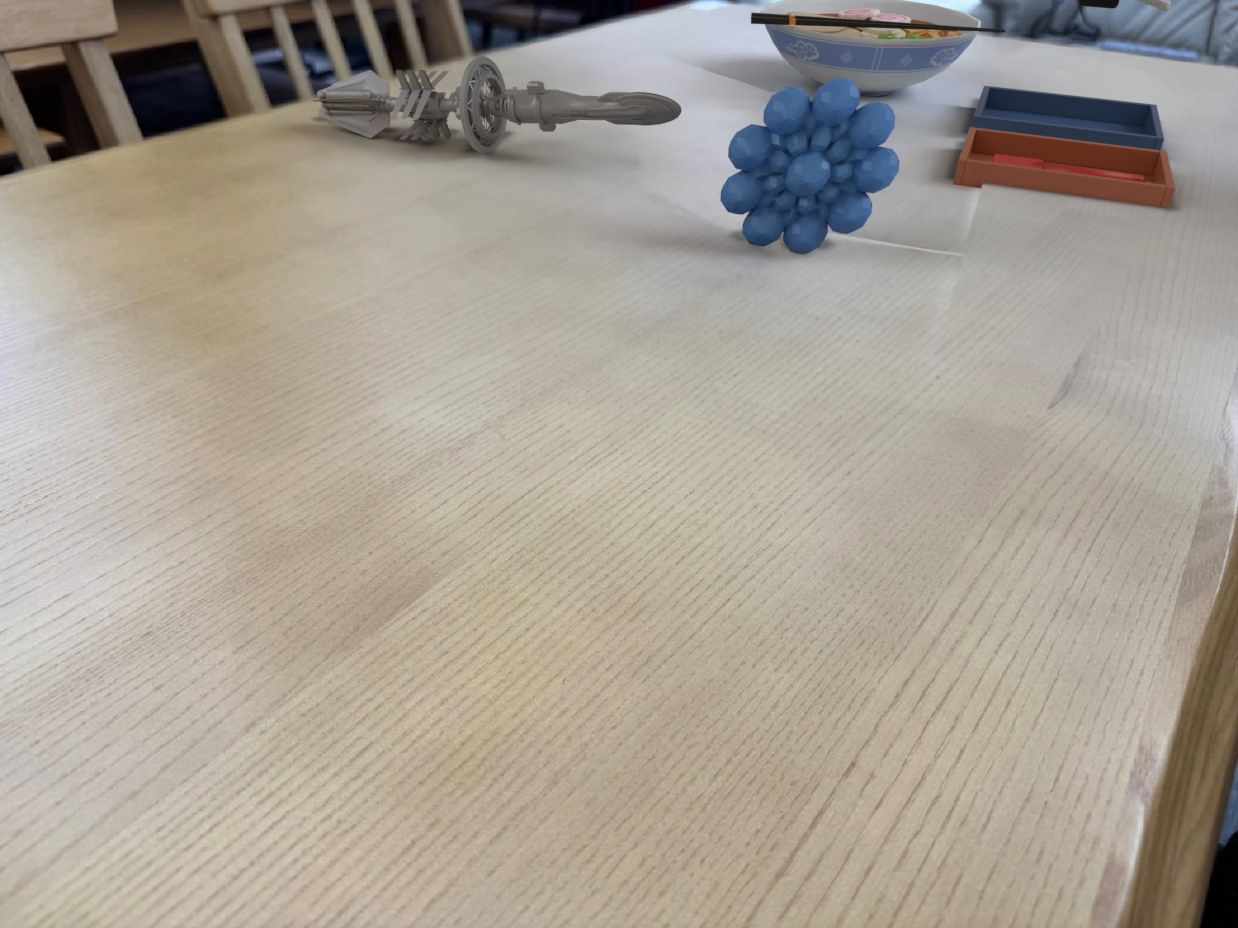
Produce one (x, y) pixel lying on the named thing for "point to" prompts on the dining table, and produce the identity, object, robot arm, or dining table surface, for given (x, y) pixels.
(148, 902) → the dining table surface
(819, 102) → the blue beaded flower
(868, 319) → the dining table surface
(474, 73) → the spaceship
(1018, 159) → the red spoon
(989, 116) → the blue tray
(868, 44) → the ramen bowl
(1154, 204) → the terracotta tray
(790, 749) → the dining table surface
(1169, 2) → the spoon
